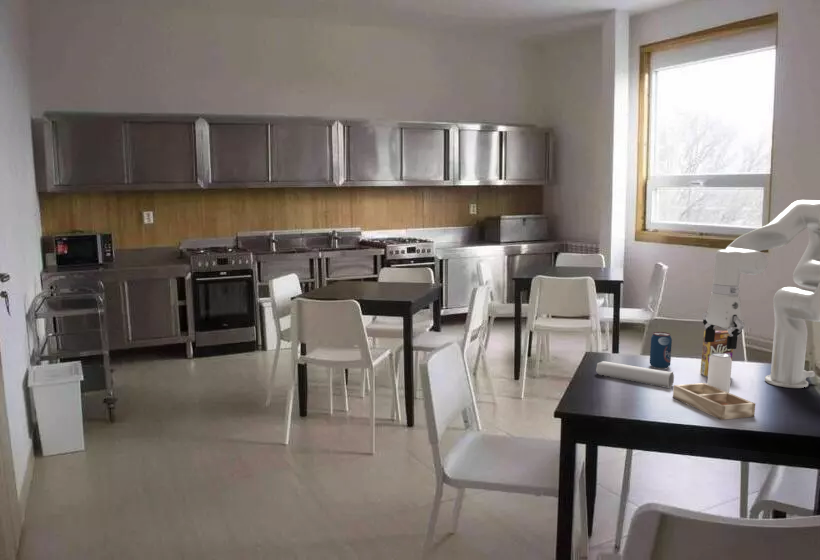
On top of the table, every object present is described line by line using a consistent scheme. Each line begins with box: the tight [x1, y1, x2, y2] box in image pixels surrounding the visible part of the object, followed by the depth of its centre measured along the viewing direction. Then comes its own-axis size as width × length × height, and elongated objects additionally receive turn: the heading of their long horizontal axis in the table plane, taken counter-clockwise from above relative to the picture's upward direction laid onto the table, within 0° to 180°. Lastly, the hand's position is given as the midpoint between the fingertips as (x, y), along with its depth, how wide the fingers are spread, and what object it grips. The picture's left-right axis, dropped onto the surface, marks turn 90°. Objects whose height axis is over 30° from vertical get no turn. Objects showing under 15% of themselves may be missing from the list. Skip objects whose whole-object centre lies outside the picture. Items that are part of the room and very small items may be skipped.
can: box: [706, 352, 733, 393], centre depth 220 cm, size 6×6×12 cm
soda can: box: [649, 331, 673, 370], centre depth 250 cm, size 7×7×12 cm
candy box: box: [699, 329, 734, 377], centre depth 239 cm, size 9×4×15 cm, turn 93°
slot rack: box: [672, 382, 756, 421], centre depth 206 cm, size 11×21×4 cm, turn 16°
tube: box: [595, 360, 675, 389], centre depth 233 cm, size 5×5×25 cm
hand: (720, 345), depth 218 cm, fingers open, 9 cm apart
